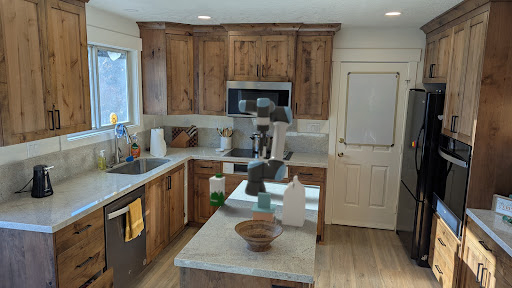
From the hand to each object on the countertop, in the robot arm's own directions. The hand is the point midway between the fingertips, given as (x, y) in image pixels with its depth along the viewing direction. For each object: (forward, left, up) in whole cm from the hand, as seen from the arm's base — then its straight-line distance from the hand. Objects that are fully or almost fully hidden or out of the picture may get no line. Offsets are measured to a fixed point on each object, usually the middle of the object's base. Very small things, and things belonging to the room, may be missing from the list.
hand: (262, 159), depth 213 cm
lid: (+19, +4, -25) cm, 31 cm away
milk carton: (0, -28, -32) cm, 42 cm away
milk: (+18, +21, -32) cm, 42 cm away
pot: (+19, +4, -32) cm, 37 cm away
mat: (+11, -11, -31) cm, 35 cm away
